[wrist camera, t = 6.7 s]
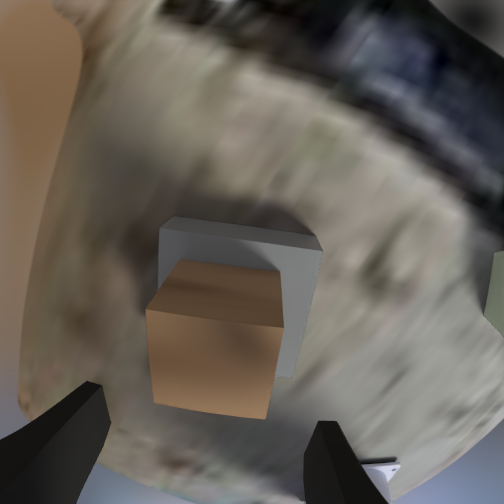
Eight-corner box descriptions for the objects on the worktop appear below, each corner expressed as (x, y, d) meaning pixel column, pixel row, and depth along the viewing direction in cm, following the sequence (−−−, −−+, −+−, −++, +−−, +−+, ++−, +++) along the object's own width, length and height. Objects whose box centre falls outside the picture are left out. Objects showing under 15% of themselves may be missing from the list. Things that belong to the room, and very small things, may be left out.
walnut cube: (267, 352, 18) (265, 419, 13) (178, 341, 18) (153, 402, 13) (280, 271, 16) (284, 328, 11) (179, 259, 16) (145, 309, 11)
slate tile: (289, 348, 21) (292, 378, 18) (171, 331, 21) (158, 357, 18) (314, 233, 18) (323, 251, 15) (175, 214, 18) (159, 228, 15)
